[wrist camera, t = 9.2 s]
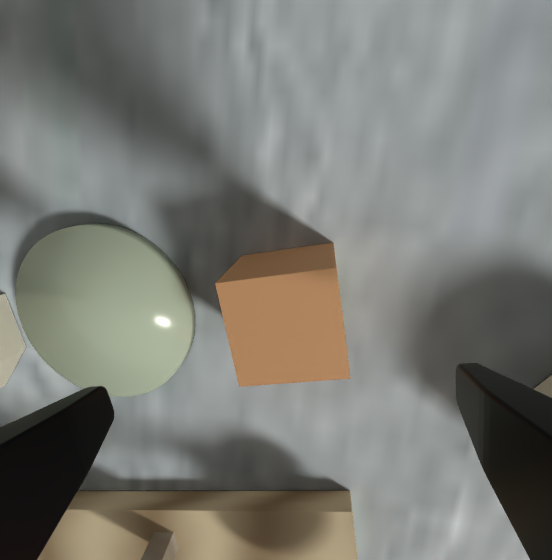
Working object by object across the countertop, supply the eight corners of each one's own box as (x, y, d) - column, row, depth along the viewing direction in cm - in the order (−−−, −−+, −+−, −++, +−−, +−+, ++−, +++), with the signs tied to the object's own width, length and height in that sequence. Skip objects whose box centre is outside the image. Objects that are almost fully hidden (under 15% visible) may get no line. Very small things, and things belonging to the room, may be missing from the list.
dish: (211, 382, 17) (206, 392, 17) (62, 391, 19) (51, 400, 18) (171, 210, 15) (163, 212, 14) (3, 236, 16) (-12, 239, 16)
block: (344, 328, 16) (350, 378, 12) (259, 336, 16) (239, 386, 13) (333, 242, 15) (335, 267, 11) (242, 255, 15) (215, 283, 12)
